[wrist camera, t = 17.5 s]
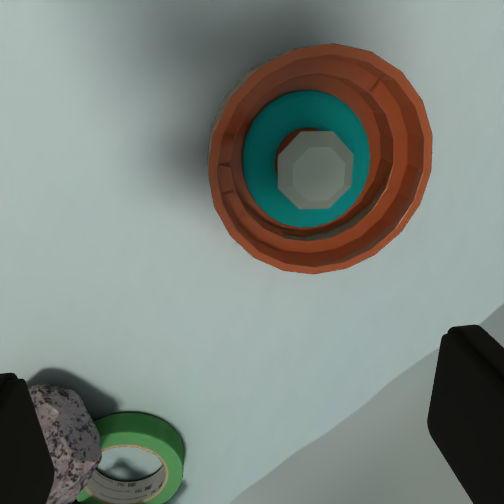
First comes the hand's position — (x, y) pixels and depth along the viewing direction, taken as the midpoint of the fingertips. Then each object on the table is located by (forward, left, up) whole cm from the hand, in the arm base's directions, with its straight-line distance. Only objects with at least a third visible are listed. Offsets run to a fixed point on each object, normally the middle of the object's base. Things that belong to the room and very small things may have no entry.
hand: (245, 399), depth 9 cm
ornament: (-8, +9, -23) cm, 26 cm away
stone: (+30, 0, -17) cm, 35 cm away
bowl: (-4, +6, -25) cm, 26 cm away
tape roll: (+30, +5, -25) cm, 40 cm away
